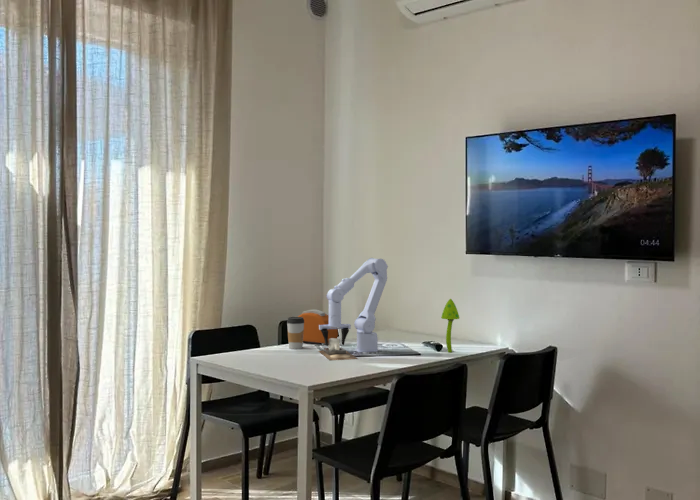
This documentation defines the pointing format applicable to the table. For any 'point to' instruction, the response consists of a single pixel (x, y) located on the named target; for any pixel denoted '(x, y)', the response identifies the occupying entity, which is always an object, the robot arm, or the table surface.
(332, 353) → the socket
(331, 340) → the cream tapered cylinder
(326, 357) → the board
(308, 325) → the orange toaster
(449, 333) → the mushroom
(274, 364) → the table surface
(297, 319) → the coffee cup
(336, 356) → the coaster
